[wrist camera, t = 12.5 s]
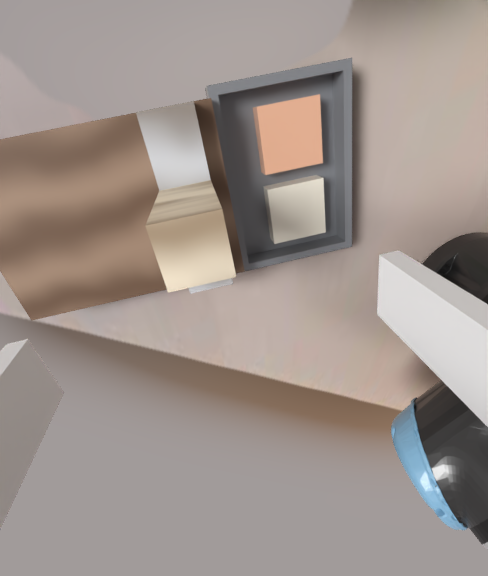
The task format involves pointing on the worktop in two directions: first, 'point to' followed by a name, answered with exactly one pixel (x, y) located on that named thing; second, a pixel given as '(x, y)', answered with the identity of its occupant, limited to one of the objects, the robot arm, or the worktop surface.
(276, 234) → the cream tile
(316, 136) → the terracotta tile
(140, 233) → the board
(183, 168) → the two-tone beige block
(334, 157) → the tray
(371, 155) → the worktop surface
